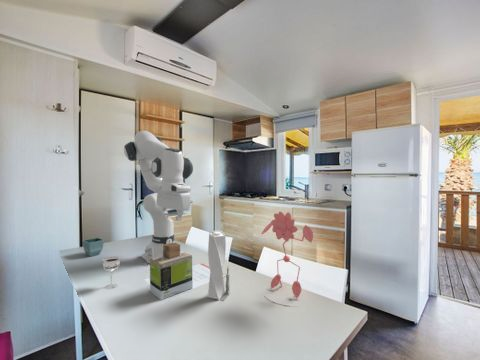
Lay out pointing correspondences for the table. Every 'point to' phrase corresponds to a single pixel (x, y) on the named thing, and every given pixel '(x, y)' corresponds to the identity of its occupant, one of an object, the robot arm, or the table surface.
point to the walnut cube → (171, 250)
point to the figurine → (285, 230)
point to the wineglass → (111, 268)
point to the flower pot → (93, 246)
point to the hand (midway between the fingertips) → (172, 219)
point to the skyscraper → (217, 266)
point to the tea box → (170, 275)
